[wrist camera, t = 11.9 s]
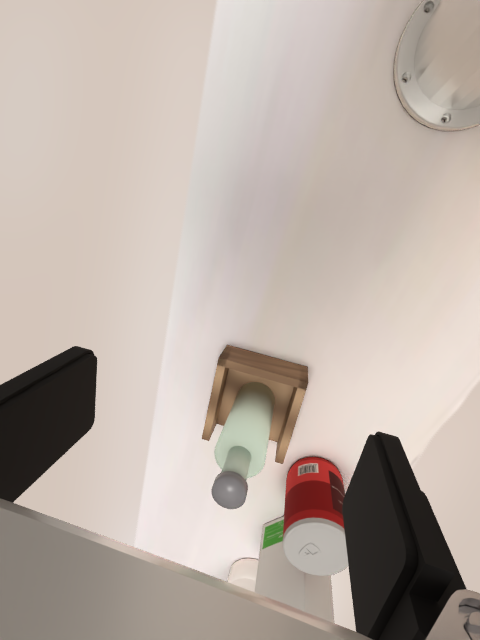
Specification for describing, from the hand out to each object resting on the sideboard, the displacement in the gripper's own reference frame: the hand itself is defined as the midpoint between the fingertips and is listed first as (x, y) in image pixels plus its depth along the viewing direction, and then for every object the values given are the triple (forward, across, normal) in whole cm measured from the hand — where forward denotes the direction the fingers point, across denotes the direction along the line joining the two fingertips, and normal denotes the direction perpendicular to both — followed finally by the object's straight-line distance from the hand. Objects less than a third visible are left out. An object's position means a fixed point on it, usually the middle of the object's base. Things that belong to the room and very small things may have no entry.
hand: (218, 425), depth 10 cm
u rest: (+30, 0, +17) cm, 34 cm away
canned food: (+30, -11, +27) cm, 42 cm away
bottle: (+29, 0, +17) cm, 34 cm away
